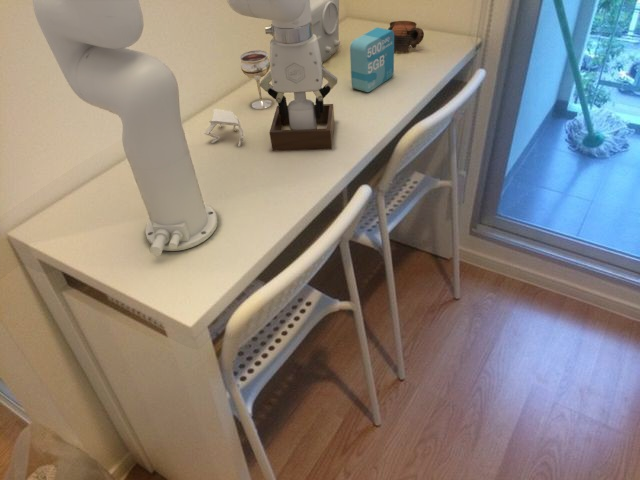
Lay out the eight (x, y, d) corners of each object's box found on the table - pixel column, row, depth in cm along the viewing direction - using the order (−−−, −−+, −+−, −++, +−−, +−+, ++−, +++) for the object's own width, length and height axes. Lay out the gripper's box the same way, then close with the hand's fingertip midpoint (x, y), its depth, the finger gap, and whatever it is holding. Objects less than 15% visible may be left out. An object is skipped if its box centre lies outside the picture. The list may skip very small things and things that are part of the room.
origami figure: (196, 140, 118) (191, 120, 115) (222, 123, 123) (218, 104, 120) (237, 153, 113) (232, 133, 109) (262, 135, 117) (258, 115, 114)
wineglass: (278, 107, 127) (271, 58, 119) (250, 113, 126) (242, 64, 118) (272, 95, 132) (265, 47, 124) (245, 101, 131) (236, 53, 123)
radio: (308, 80, 137) (297, -24, 121) (281, 75, 141) (268, -27, 125) (347, 48, 151) (343, -49, 135) (322, 45, 155) (315, -50, 138)
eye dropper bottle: (309, 143, 113) (303, 91, 105) (288, 137, 116) (281, 85, 108) (320, 134, 116) (316, 82, 108) (300, 128, 119) (294, 77, 111)
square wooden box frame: (331, 149, 111) (330, 130, 108) (272, 151, 112) (269, 132, 109) (334, 122, 120) (333, 103, 117) (279, 124, 121) (276, 105, 118)
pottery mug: (378, 52, 148) (380, 21, 147) (397, 57, 155) (400, 27, 154) (414, 49, 140) (416, 16, 139) (433, 54, 147) (436, 23, 146)
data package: (366, 94, 129) (364, 45, 121) (351, 90, 131) (349, 41, 123) (394, 76, 135) (394, 28, 127) (379, 72, 138) (379, 25, 130)
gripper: (244, 41, 99) (259, 126, 111) (337, 36, 97) (342, 123, 109) (251, 26, 105) (264, 109, 117) (339, 22, 103) (343, 106, 115)
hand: (302, 115), depth 113 cm, fingers open, 6 cm apart
